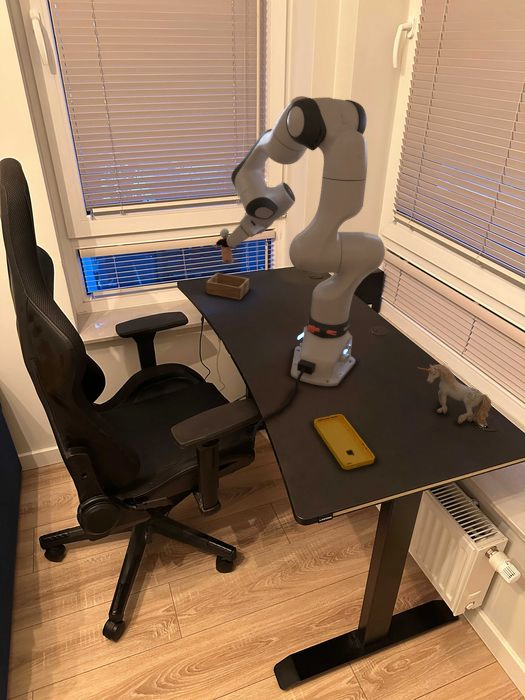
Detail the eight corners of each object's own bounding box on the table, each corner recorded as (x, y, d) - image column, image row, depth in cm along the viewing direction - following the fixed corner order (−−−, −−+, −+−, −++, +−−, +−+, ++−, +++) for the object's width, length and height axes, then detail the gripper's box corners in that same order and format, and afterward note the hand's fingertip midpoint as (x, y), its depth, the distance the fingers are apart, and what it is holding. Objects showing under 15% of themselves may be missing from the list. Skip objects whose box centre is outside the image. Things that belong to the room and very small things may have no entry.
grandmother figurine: (237, 258, 186) (234, 226, 179) (237, 263, 183) (235, 230, 176) (216, 259, 186) (213, 227, 178) (216, 264, 183) (213, 231, 175)
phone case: (341, 417, 129) (341, 413, 128) (375, 462, 115) (376, 458, 114) (312, 423, 126) (312, 419, 125) (344, 470, 113) (344, 466, 112)
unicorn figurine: (413, 395, 138) (423, 354, 131) (488, 417, 131) (502, 375, 124) (407, 409, 132) (417, 367, 125) (484, 433, 125) (500, 390, 118)
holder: (240, 299, 184) (240, 288, 182) (206, 293, 188) (206, 282, 185) (249, 289, 192) (249, 278, 190) (216, 283, 196) (216, 272, 193)
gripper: (261, 204, 180) (235, 227, 187) (240, 221, 163) (213, 245, 171) (272, 218, 181) (246, 240, 189) (252, 236, 164) (225, 259, 172)
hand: (230, 243), depth 180 cm, fingers closed on grandmother figurine, 2 cm apart
